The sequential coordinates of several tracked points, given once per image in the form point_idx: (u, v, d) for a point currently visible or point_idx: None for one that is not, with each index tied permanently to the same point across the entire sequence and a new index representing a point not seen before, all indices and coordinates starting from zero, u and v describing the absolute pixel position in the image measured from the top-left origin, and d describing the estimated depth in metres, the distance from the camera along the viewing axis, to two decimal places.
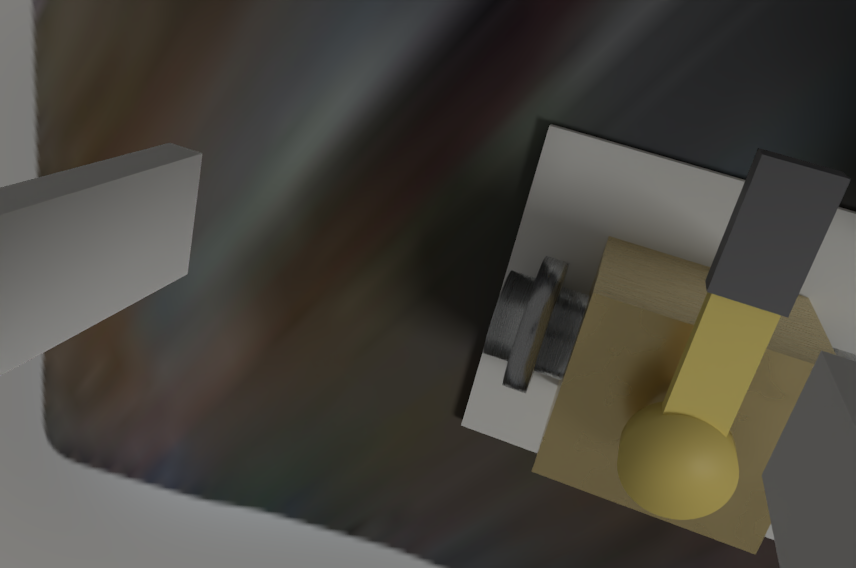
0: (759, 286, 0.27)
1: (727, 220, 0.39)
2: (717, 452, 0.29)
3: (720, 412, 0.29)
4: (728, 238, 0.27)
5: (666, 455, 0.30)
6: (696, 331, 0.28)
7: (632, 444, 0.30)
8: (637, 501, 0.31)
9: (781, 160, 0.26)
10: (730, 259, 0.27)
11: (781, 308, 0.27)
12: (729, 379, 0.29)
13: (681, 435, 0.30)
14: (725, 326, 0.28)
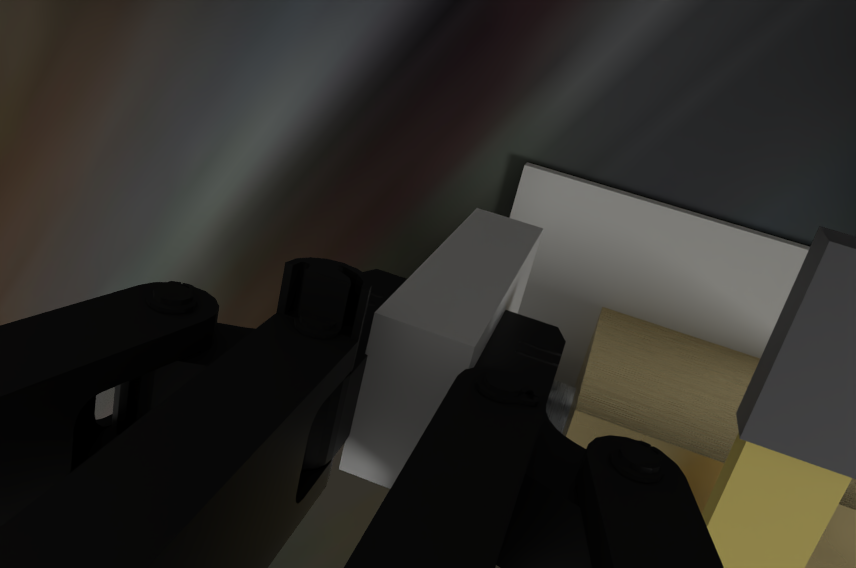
0: (821, 435, 0.18)
1: (758, 291, 0.29)
2: None
3: None
4: (773, 363, 0.18)
5: None
6: (723, 491, 0.19)
7: None
8: None
9: None
10: (776, 394, 0.18)
11: (854, 468, 0.18)
12: (772, 561, 0.19)
13: None
14: (767, 487, 0.19)
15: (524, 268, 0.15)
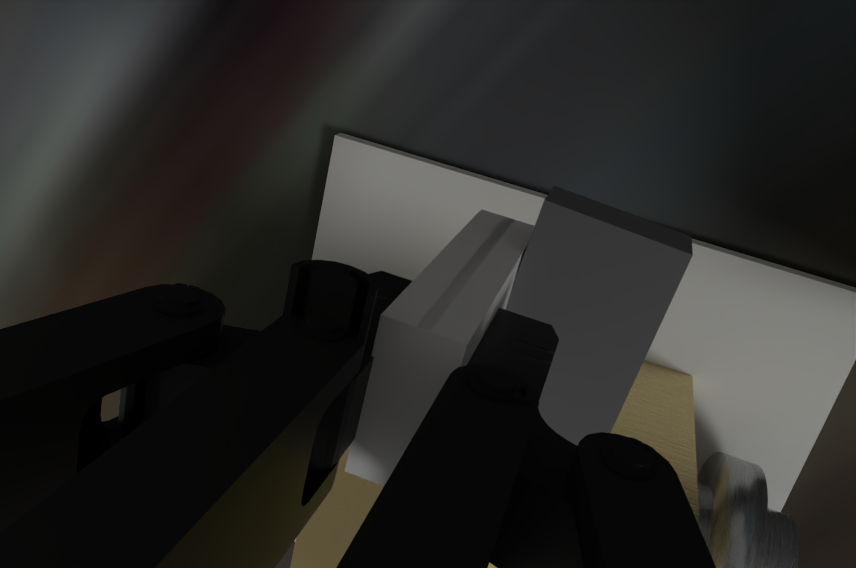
0: (545, 421, 0.16)
1: None
2: None
3: None
4: None
5: None
6: None
7: None
8: None
9: (576, 212, 0.14)
10: None
11: None
12: None
13: None
14: None
15: (518, 266, 0.15)
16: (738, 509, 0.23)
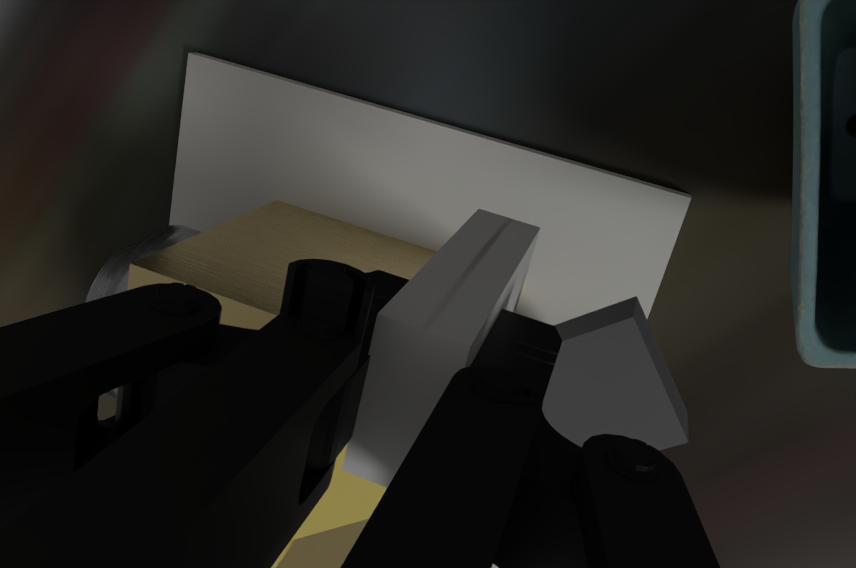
0: None
1: (414, 176, 0.29)
2: None
3: None
4: None
5: None
6: None
7: None
8: None
9: (644, 345, 0.15)
10: None
11: None
12: (343, 496, 0.19)
13: None
14: None
15: (521, 267, 0.15)
16: None
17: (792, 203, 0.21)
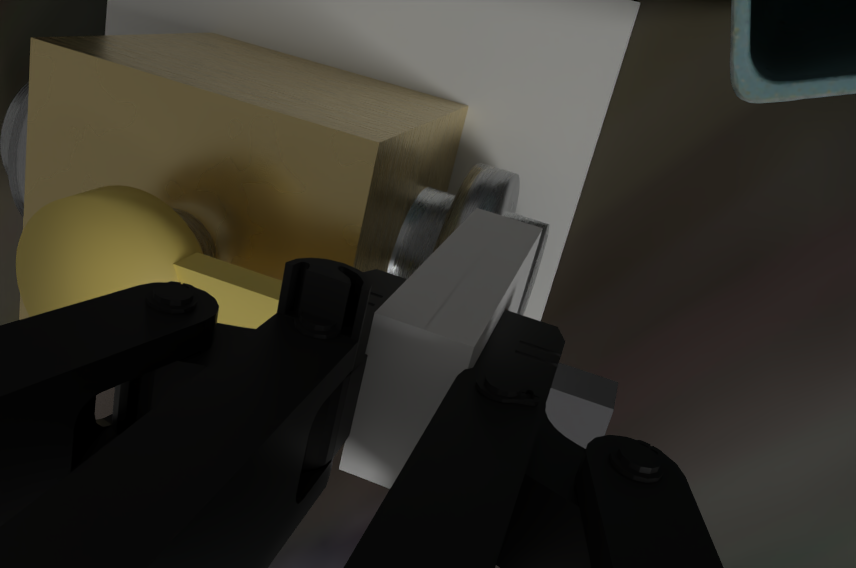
0: None
1: None
2: None
3: None
4: None
5: (110, 274, 0.18)
6: None
7: (113, 221, 0.18)
8: (26, 231, 0.19)
9: (603, 435, 0.16)
10: None
11: None
12: None
13: None
14: None
15: (523, 268, 0.15)
16: (473, 189, 0.23)
17: None
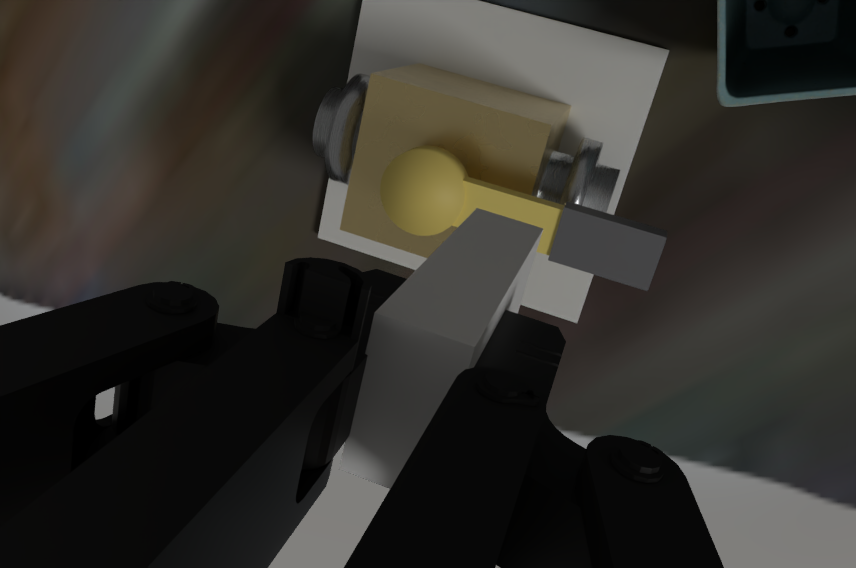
0: (570, 241, 0.39)
1: (506, 44, 0.49)
2: (439, 220, 0.40)
3: None
4: (605, 219, 0.38)
5: (431, 185, 0.40)
6: (531, 201, 0.39)
7: (436, 160, 0.39)
8: (389, 166, 0.40)
9: (662, 249, 0.38)
10: (589, 221, 0.38)
11: (554, 255, 0.39)
12: None
13: (449, 195, 0.40)
14: (537, 220, 0.39)
15: (524, 268, 0.15)
16: (584, 150, 0.44)
17: None
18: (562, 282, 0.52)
